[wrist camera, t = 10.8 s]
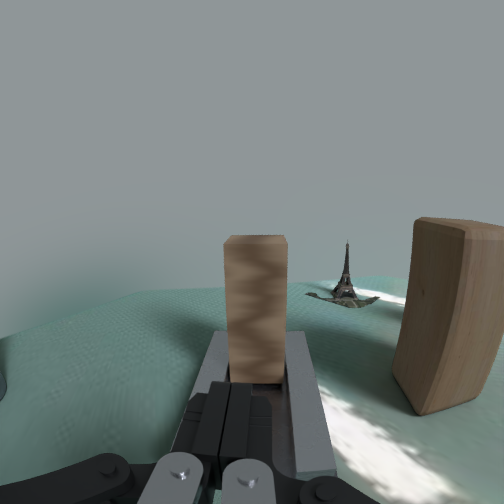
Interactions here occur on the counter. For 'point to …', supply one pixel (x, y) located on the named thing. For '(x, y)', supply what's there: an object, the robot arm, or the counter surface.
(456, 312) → the wooden block
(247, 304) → the block
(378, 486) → the counter surface
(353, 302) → the eiffel tower figurine
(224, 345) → the chute
